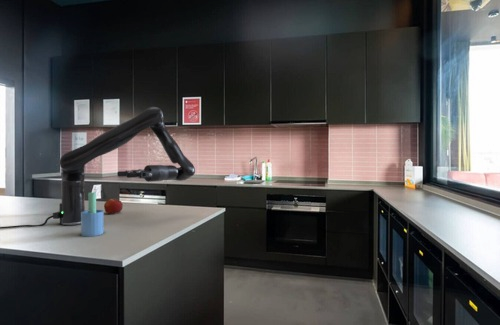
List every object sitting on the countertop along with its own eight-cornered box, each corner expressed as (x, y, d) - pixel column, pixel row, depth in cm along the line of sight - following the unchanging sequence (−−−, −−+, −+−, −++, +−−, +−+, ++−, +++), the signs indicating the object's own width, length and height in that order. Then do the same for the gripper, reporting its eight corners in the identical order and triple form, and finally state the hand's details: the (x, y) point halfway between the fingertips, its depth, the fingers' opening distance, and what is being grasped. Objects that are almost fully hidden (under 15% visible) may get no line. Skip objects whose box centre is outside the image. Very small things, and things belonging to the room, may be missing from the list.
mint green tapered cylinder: (87, 233, 124) (86, 193, 123) (91, 231, 127) (91, 192, 126) (93, 233, 124) (93, 193, 123) (97, 231, 126) (97, 192, 126)
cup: (76, 236, 122) (76, 213, 121) (89, 231, 130) (89, 209, 129) (95, 236, 121) (95, 213, 120) (107, 231, 129) (107, 210, 128)
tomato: (102, 213, 168) (102, 198, 168) (120, 211, 174) (119, 196, 174) (106, 215, 161) (106, 200, 161) (124, 213, 167) (124, 198, 166)
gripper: (148, 164, 149) (114, 165, 137) (164, 165, 140) (130, 166, 128) (148, 180, 150) (114, 182, 138) (164, 182, 140) (130, 184, 128)
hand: (122, 174), depth 133 cm, fingers open, 8 cm apart
